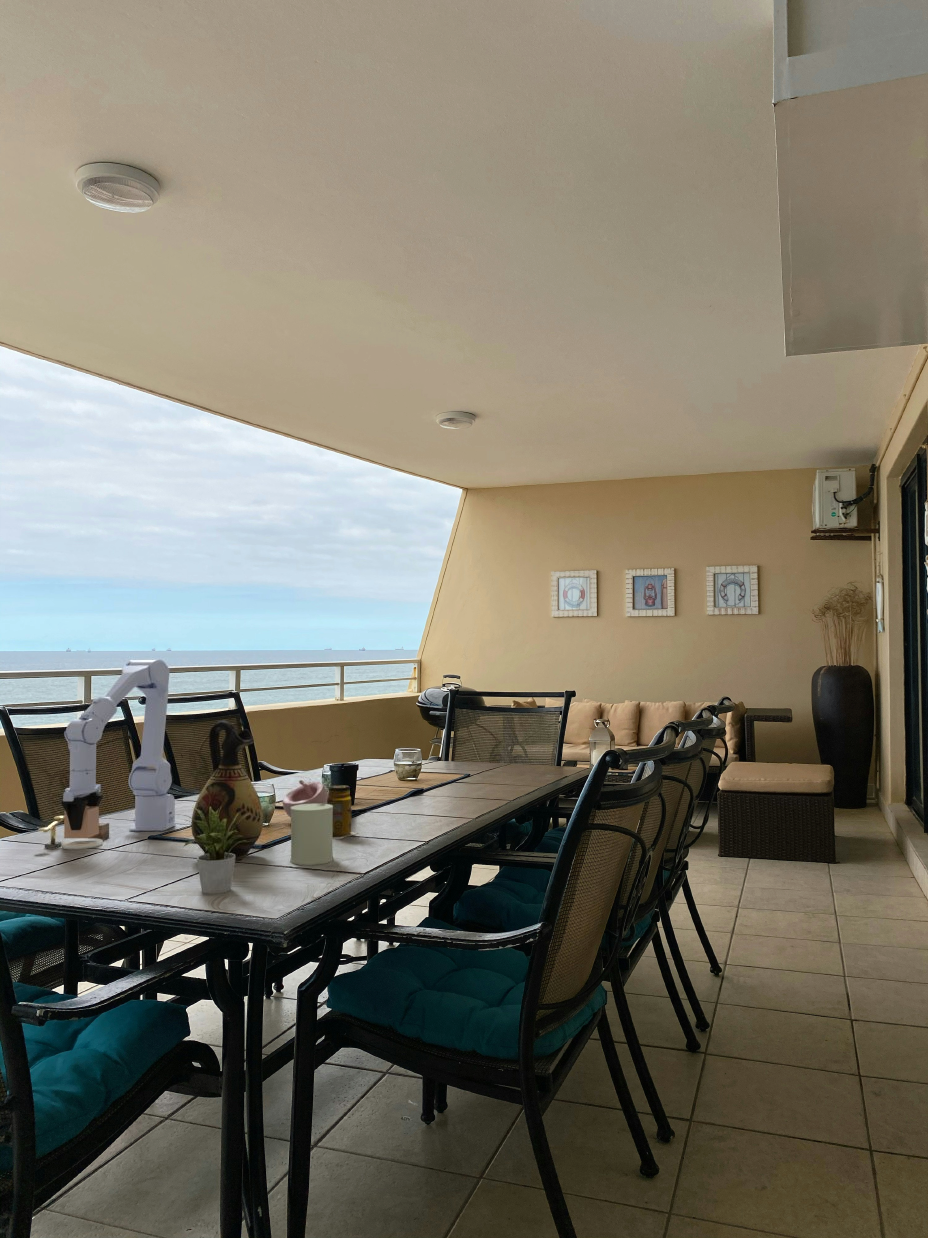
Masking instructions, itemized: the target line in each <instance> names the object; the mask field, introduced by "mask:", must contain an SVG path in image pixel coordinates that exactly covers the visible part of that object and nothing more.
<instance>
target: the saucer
mask: <svg viewBox="0 0 928 1238" xmlns="http://www.w3.org/2000/svg"><path fill="white" fill-rule="evenodd" d="M103 841H104V840H102V839H96V838H74V839H71V840H66V841H63V842H61V846H60V847H62V848H61V849H63V848H64V849H63V850H84V849H86V850H87V849H92V848H98V847H100V846H102V845H103V843H104V842H103Z"/></svg>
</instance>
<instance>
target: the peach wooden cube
mask: <svg viewBox="0 0 928 1238" xmlns="http://www.w3.org/2000/svg"><path fill="white" fill-rule="evenodd" d="M63 812H64V815H63V816H64V819H63V821H64V824H63V825H64V827H63V828H64V829H63V831H64V832H63V833H64V835H63V838H64V839H85V838H89V837H92V836H94V835H96V834H99V823H100V807H99V806H86V807H85V810H84V814H83V821H82V827H81V830H71V828H70V824H69V820H68V816H67V813H66V811H65V809H64V811H63Z"/></svg>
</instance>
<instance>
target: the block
mask: <svg viewBox="0 0 928 1238" xmlns="http://www.w3.org/2000/svg"><path fill="white" fill-rule="evenodd" d="M89 838H96V839H102V840H103V841H104V840H106V839H108V838H110V822H99V834H96V835H94V836H92V837H89Z"/></svg>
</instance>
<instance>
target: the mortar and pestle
mask: <svg viewBox="0 0 928 1238" xmlns="http://www.w3.org/2000/svg"><path fill="white" fill-rule="evenodd" d="M298 783H299V784H300V785H298V786H296V787H295V788H293V789H291V790H289V791H288V792H287V793H286V794H285V795H284V797H283V799H282V806H283V810H284V811H285V813H286V815H287V816H288V817H289V818H290V819H291V807H292V806H295V805H300V804H314V803H319V804H327V798H328V796H329V795H328V791H327V789H326V788H325V785H324V784H323V783H322V782H320V781H308V782H304V781H303V780H302V779H300V780H298Z"/></svg>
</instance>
